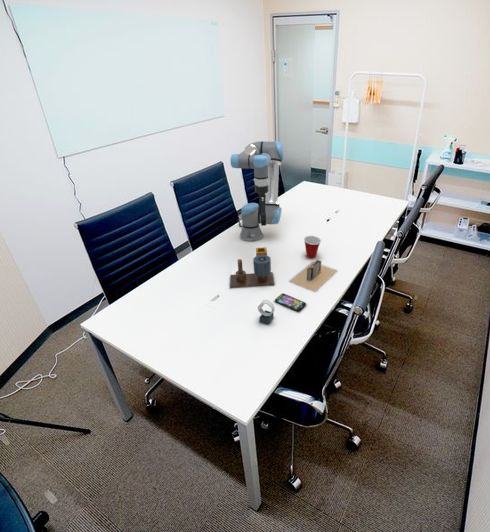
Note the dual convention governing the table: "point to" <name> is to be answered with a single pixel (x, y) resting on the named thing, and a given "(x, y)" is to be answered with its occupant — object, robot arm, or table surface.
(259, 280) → the peg stand
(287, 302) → the smartphone
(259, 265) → the blue ring
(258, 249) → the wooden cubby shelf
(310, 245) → the plastic cup
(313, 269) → the architectural model on board
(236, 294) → the table surface
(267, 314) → the watch
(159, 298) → the table surface
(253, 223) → the robot arm
